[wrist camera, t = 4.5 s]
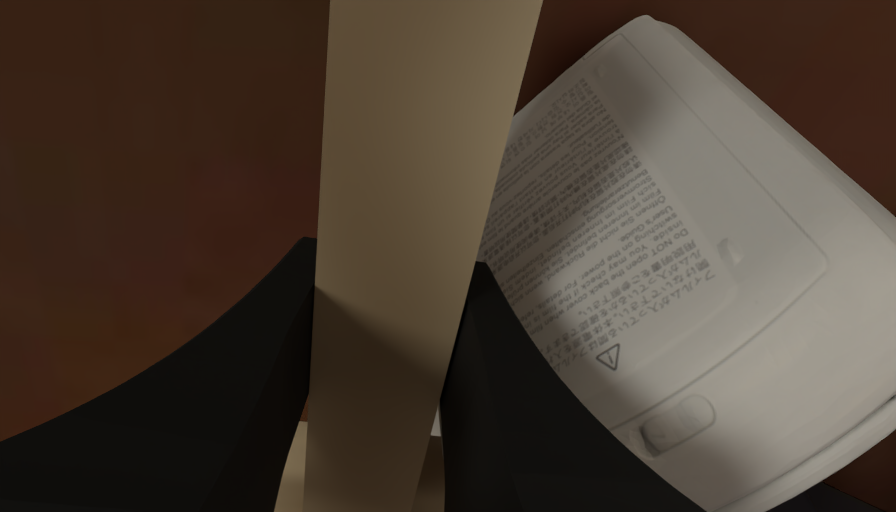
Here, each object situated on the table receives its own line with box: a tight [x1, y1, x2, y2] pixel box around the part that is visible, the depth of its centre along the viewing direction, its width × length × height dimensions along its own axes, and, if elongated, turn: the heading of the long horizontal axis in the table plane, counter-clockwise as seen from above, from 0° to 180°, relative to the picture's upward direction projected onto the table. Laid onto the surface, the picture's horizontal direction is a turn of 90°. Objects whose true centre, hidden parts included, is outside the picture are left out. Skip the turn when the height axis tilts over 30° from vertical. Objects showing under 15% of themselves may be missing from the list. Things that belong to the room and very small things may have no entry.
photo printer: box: [438, 15, 896, 512], centre depth 14 cm, size 10×4×12 cm, turn 135°
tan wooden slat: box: [274, 0, 543, 512], centre depth 12 cm, size 6×16×4 cm, turn 170°
